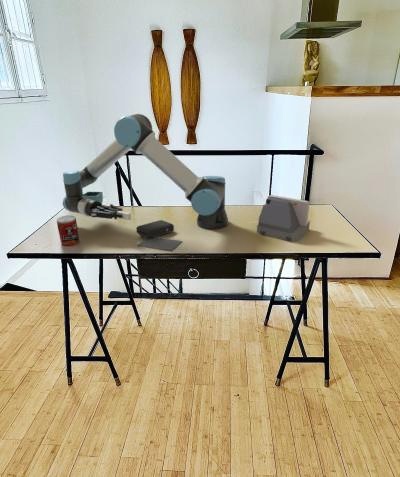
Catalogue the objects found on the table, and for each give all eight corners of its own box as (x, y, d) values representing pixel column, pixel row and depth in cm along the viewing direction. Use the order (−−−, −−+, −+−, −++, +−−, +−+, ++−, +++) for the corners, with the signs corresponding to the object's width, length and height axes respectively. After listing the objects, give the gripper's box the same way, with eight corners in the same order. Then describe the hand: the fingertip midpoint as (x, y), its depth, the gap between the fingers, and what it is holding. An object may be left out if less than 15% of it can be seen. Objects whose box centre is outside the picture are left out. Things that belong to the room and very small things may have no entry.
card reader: (148, 240, 148) (174, 232, 159) (148, 231, 147) (174, 223, 157) (135, 234, 154) (161, 227, 164) (135, 225, 153) (161, 219, 163)
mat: (181, 241, 148) (181, 241, 148) (171, 251, 139) (171, 250, 139) (149, 236, 153) (148, 235, 153) (137, 245, 145) (137, 244, 145)
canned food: (62, 247, 144) (57, 223, 139) (59, 240, 150) (55, 217, 146) (81, 243, 147) (77, 219, 143) (77, 237, 154) (74, 214, 149)
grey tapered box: (315, 231, 158) (319, 199, 152) (290, 245, 144) (294, 211, 138) (275, 220, 171) (278, 190, 165) (250, 231, 158) (251, 200, 152)
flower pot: (89, 206, 193) (87, 191, 190) (104, 207, 192) (102, 191, 189) (82, 211, 185) (80, 195, 182) (98, 212, 184) (96, 196, 181)
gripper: (102, 211, 165) (140, 220, 153) (80, 219, 154) (119, 229, 143) (100, 196, 162) (139, 204, 150) (78, 203, 151) (118, 212, 140)
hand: (129, 216), depth 147 cm, fingers closed
